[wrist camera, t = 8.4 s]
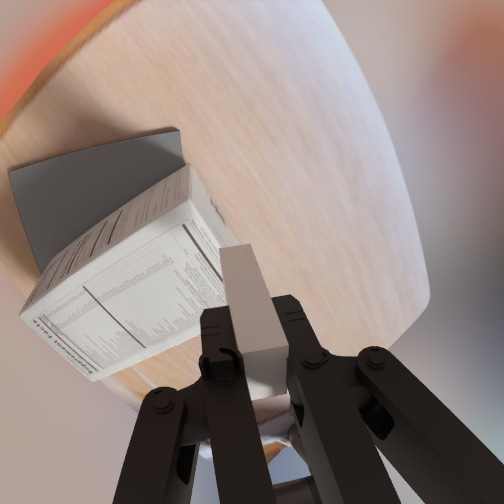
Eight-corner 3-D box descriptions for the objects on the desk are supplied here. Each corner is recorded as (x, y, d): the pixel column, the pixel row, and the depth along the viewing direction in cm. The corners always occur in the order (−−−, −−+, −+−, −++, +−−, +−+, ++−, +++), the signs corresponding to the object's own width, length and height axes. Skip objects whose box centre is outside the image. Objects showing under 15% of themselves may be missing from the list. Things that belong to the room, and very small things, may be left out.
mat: (198, 264, 30) (199, 267, 29) (49, 285, 28) (47, 288, 27) (179, 130, 23) (179, 131, 23) (11, 171, 21) (8, 172, 21)
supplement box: (190, 159, 24) (49, 254, 25) (189, 193, 16) (12, 313, 18) (241, 246, 29) (107, 319, 30) (262, 309, 21) (91, 385, 22)
